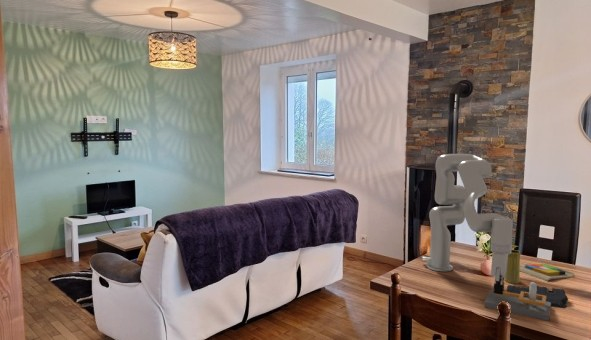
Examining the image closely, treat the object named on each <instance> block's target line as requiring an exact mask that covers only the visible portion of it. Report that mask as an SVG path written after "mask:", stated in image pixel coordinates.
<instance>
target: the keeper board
mask: <svg viewBox="0 0 591 340" xmlns="http://www.w3.org/2000/svg"><path fill="white" fill-rule="evenodd" d="M537 286H538V285H537V283H536V282H534V281H531V282H530V283H529V287H528V288H529V298H527V297H523V298H525V299H530V300H535V301H540V302H542V300H537V299H536V291H537ZM502 301H505V302H508V303H509V304H510V305H511V312H510V313H511V314H512V313H513V314H515V315H516V314H517V315H521V316H525V317H529V318H534V317H535V318H534V319H539V320H543V321H548V322H549V321H550V316H551V314H550V313H551V307H552V306H551V302H547V301H546V304H545V307H543V306H538V305H534V304H529V303H524V302H519V298H517V297H511V296H506V295H497V294H494V290H489V291H488V294H487V296H486V298H485V300H484V302H483V303H484V305H483V306H484V308H489V309H495V310H498V309H497V306H498V304H499V303H500V302H502Z"/></svg>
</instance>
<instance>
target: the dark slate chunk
mask: <svg viewBox="0 0 591 340" xmlns="http://www.w3.org/2000/svg"><path fill="white" fill-rule="evenodd" d="M529 288H530V287H525V286H516V285H514V284H513V285H512V284H508V285H507V286H506V292H511V293H517V294H520V293H521V291H523V292H529ZM536 294H539V295H544V296H546V301H547V302H551V307H553V308H559V309H565V308H568V306H567V303H568V302H567V301H569V298H568V296H567V295H566V292H565V289H563V288H555V287H552V288H551V290H550V289H549V288H547V287H546V286H539V285H537V291H536ZM524 297H527V298H529V296H524ZM536 299H537V300H542V299H539V298H536Z"/></svg>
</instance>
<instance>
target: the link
mask: <svg viewBox="0 0 591 340" xmlns="http://www.w3.org/2000/svg"><path fill="white" fill-rule="evenodd" d="M500 280H501V279H500ZM502 285H503V294H502V295H506V296H511V297H517V298H519V302H524V303H529V304H534V305H538V306H543V307H545V304H546V296H544V295H539V294H536V298H539V299H542V302H540V301H535V300H530V299H525V298H523V297H524V296H529V292H523V291H521V293H520V294H517V293H511V292H507V290H506V291H505V278H504V279H503V282H502ZM494 294H496V293H494ZM497 295H501V294H497Z"/></svg>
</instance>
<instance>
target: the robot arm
mask: <svg viewBox="0 0 591 340" xmlns="http://www.w3.org/2000/svg"><path fill="white" fill-rule="evenodd" d="M454 172H458V174H459V178H460V179H461V182H462V184H463V185H460V184H459V185H458V184H456V185H455V181H456V180H455V175H454ZM435 174H436V179H435V188H434V189H435V190H434V201H435V203H436V204H438V205H439V206H435V207H432V208H431V209H430V211H429V214H428V215H429V216H428V217H429V222H430V246H429V247H430V249H429V256H428V257H427V256H422V257H421V261H422V262H425V263H426V267H427V268H428V269H429V270H431V271H435V272H451V271H453V269H454V267H453V265H452V264H450V261H451V260H450V259H451V232H450V230H449V229H448V226H454V225H462V224H463V223H464V221H466V224H467V225H468V227H469V229H470V230H471V231H473V232H475V233H483V232H485V233H486V232H491V233H490V252H492V256H491V267H490V277H494V283H493V291H494V293H496V294H501V295H502V294H503V285H502V282H503V279H504V280H505V276H506V272H507V263H508V254H511V250H513V247H512V246H513V245H512V244H513V227H514V226H513V225H514V223H513V222H514V221H513V220H512V219H511V218H510V217H505V216H503V215H501V214H499V213H495V212H494V213H493V212H492V213H491V212H490V213H486V212H485V213H478V212H477V210H476V206H475V201H476V200H477V199H479V198H481V197H483V196H484V195H486V193H487V192H488V187H487V185H486V182H485V181H484V179H487V178H489V177H490V176H491V175H492V165H491V164H490V163H489V161H488V160H486V159H485V158H482V157H479V156H477V155H475V154H472V153H448V154H442V155H439V156H438V158H436V161H435ZM441 205H443V206H441ZM444 205H445V206H444ZM500 279H501V280H500Z"/></svg>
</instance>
